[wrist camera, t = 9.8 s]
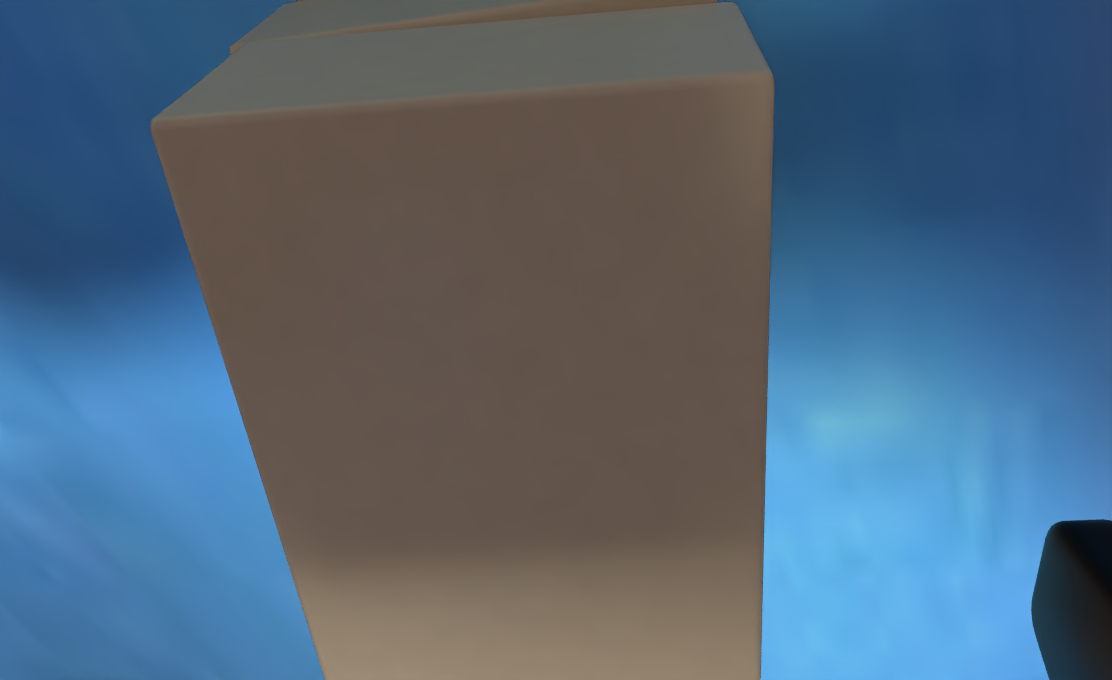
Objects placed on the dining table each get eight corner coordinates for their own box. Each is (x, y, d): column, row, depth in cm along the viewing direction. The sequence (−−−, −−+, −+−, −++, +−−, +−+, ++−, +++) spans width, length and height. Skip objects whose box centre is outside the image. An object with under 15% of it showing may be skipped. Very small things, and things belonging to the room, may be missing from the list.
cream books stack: (318, -50, 13) (218, 20, 10) (716, -87, 13) (754, -28, 9) (409, 390, 17) (359, 552, 14) (719, 374, 16) (748, 538, 13)
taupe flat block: (242, 40, 10) (141, 121, 8) (738, -1, 9) (777, 70, 7) (373, 550, 13) (327, 701, 11) (736, 537, 13) (761, 691, 11)
